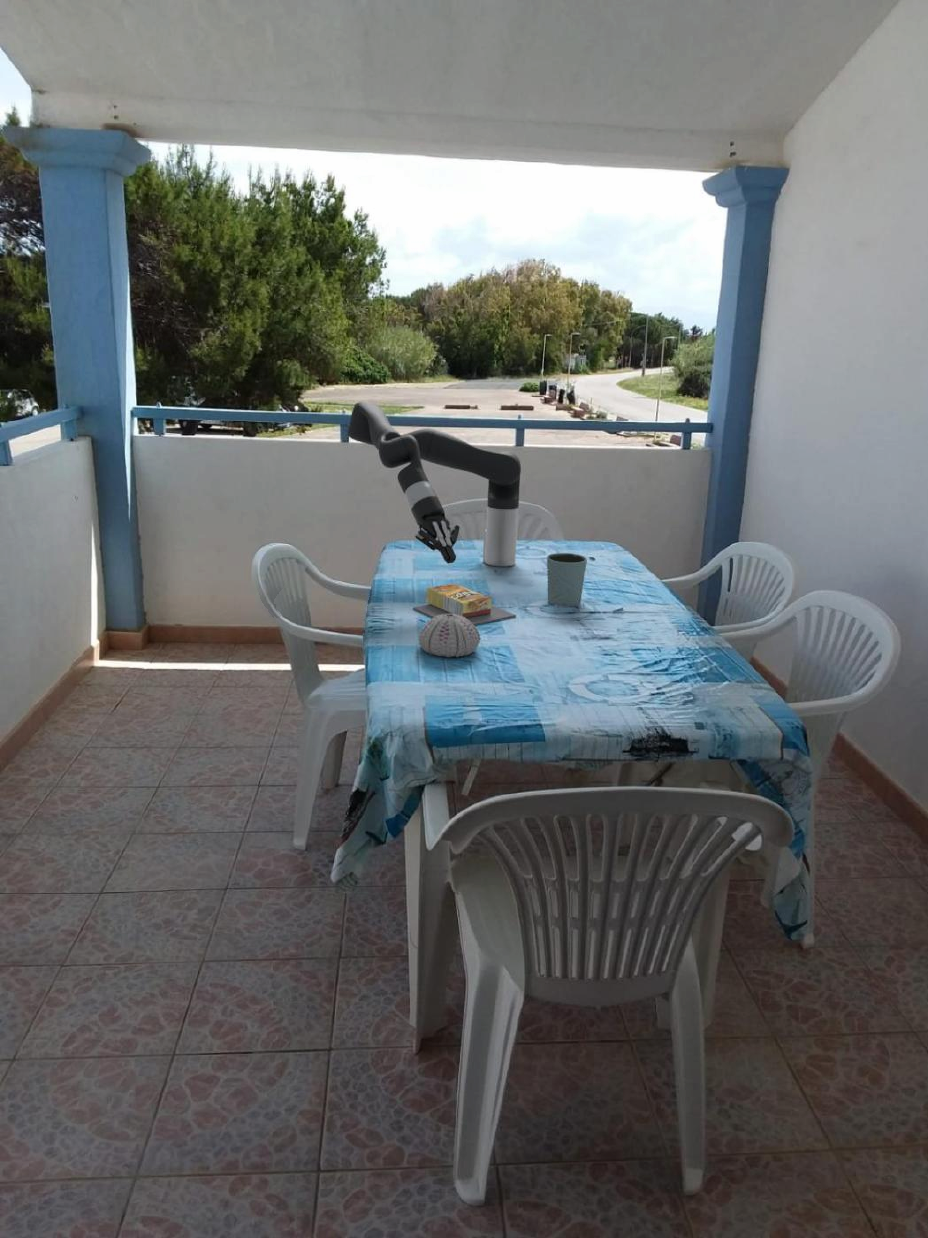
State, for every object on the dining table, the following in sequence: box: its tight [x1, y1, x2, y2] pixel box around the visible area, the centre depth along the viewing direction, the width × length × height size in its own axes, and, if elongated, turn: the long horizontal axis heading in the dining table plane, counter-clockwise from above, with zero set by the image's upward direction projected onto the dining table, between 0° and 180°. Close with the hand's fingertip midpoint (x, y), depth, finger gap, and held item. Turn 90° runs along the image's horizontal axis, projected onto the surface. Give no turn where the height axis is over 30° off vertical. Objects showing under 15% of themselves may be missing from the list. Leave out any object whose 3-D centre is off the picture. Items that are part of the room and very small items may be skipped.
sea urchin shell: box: [417, 614, 481, 658], centre depth 185 cm, size 13×14×8 cm
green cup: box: [546, 552, 588, 608], centre depth 222 cm, size 10×10×12 cm
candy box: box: [426, 583, 492, 618], centre depth 213 cm, size 9×4×15 cm
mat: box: [412, 603, 517, 627], centre depth 212 cm, size 18×18×1 cm
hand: (451, 561), depth 212 cm, fingers closed
